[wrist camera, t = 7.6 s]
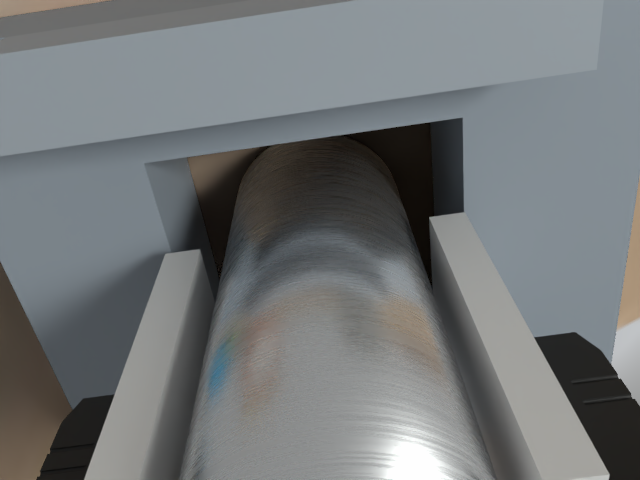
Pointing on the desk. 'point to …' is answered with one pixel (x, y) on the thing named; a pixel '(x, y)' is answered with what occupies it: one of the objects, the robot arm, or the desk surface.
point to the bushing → (328, 335)
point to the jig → (304, 124)
